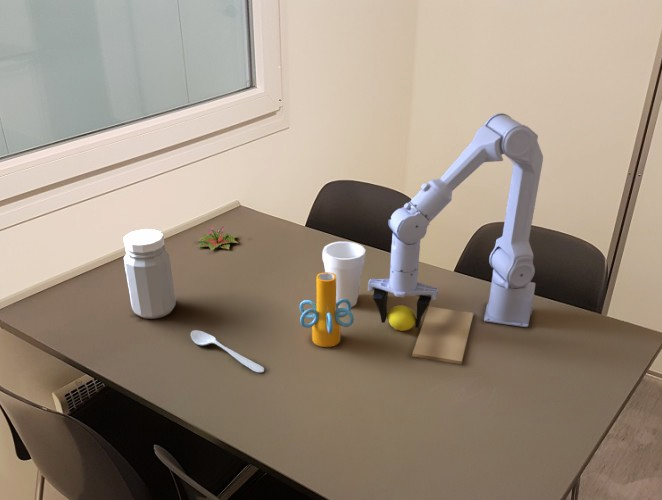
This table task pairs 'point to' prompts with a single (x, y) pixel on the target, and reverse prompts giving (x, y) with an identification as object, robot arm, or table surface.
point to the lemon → (401, 318)
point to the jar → (149, 274)
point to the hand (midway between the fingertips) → (400, 323)
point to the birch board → (443, 335)
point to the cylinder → (326, 312)
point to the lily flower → (217, 240)
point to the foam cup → (345, 269)
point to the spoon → (205, 339)
